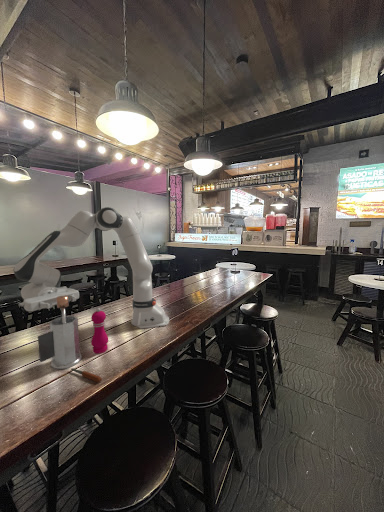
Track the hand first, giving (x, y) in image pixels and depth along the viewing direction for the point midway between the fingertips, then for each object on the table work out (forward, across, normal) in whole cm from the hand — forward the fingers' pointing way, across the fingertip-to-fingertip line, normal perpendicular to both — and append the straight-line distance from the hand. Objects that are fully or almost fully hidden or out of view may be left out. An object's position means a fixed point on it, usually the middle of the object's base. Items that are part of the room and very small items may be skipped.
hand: (63, 302), depth 87 cm
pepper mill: (+4, +13, +26) cm, 29 cm away
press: (0, -1, +26) cm, 26 cm away
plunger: (0, 0, +24) cm, 24 cm away
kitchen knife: (+15, -2, +26) cm, 30 cm away
